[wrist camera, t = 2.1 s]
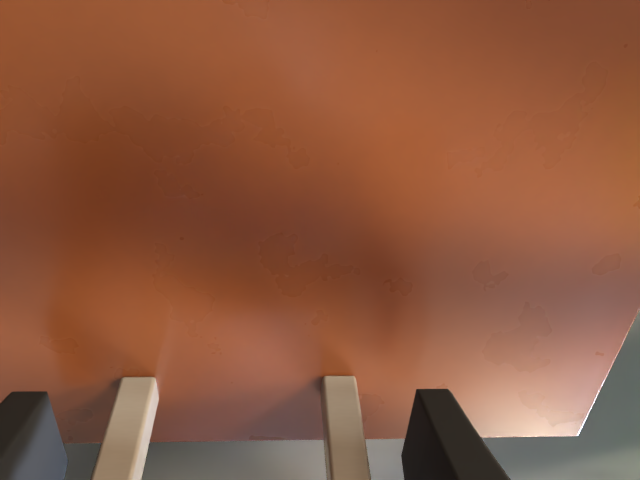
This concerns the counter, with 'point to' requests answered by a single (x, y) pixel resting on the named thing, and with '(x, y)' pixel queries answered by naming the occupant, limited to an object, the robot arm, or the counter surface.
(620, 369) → the counter surface
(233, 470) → the counter surface
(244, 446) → the counter surface
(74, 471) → the counter surface
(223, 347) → the lid
